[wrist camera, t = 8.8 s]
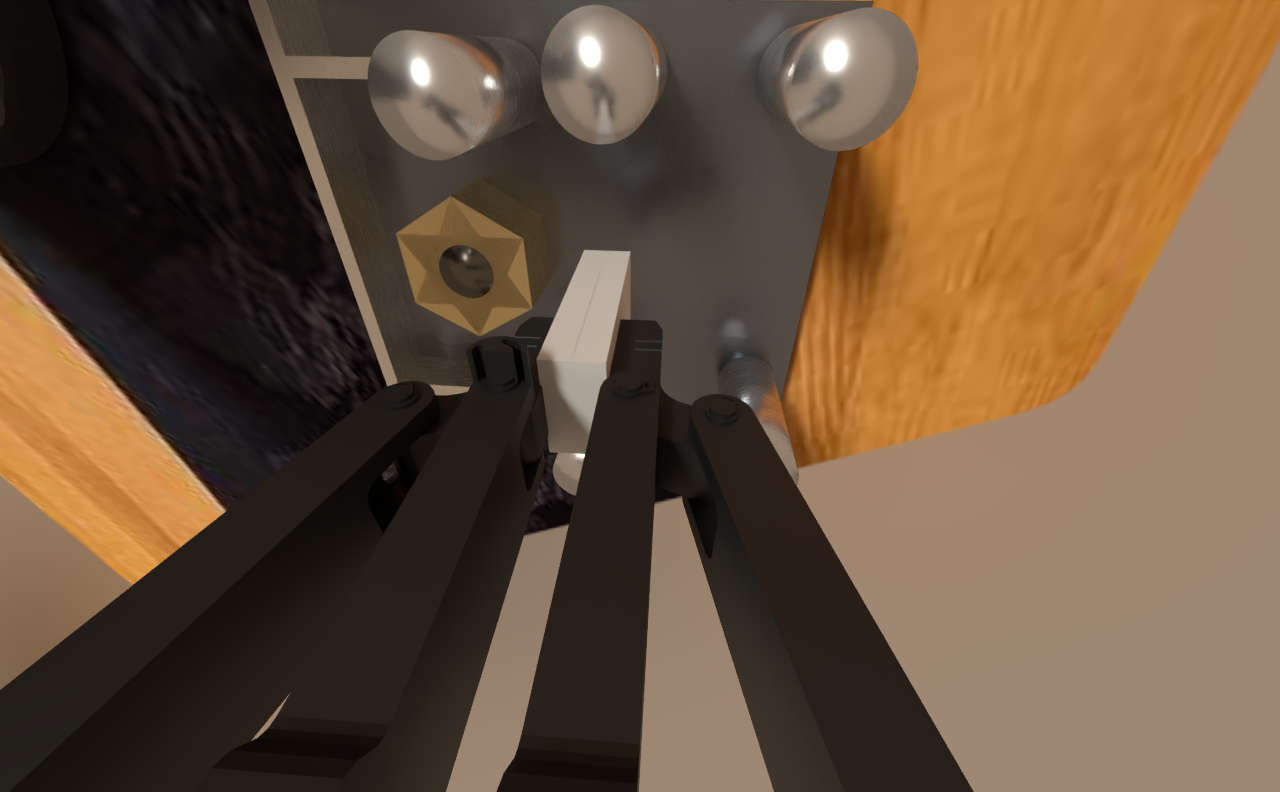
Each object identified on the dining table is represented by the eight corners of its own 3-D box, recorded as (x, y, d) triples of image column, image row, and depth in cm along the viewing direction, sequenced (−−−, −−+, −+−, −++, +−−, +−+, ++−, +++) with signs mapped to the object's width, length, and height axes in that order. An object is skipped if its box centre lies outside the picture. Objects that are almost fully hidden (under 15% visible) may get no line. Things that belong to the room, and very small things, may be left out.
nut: (452, 304, 23) (424, 333, 21) (421, 176, 20) (384, 193, 18) (552, 309, 23) (536, 339, 21) (539, 180, 20) (517, 198, 17)
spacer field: (422, 382, 27) (342, 481, 21) (304, -3, 17) (84, -35, 11) (775, 404, 26) (802, 516, 20) (866, 2, 16) (977, -29, 10)
